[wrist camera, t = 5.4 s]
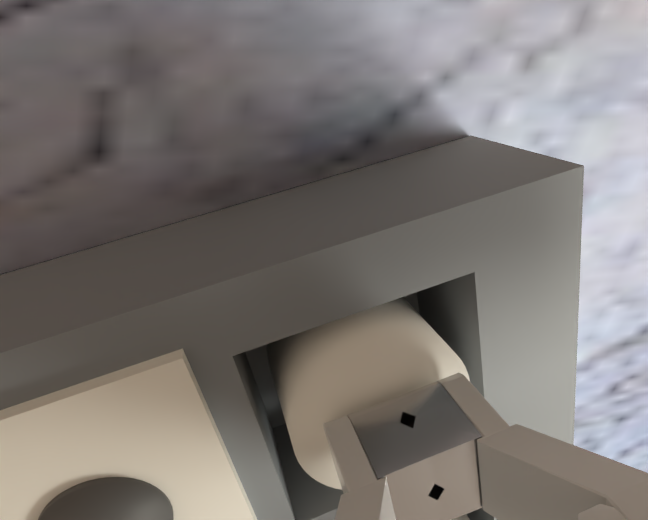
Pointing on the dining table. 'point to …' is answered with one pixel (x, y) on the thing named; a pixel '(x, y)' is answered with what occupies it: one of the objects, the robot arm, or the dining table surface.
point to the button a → (353, 373)
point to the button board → (278, 331)
